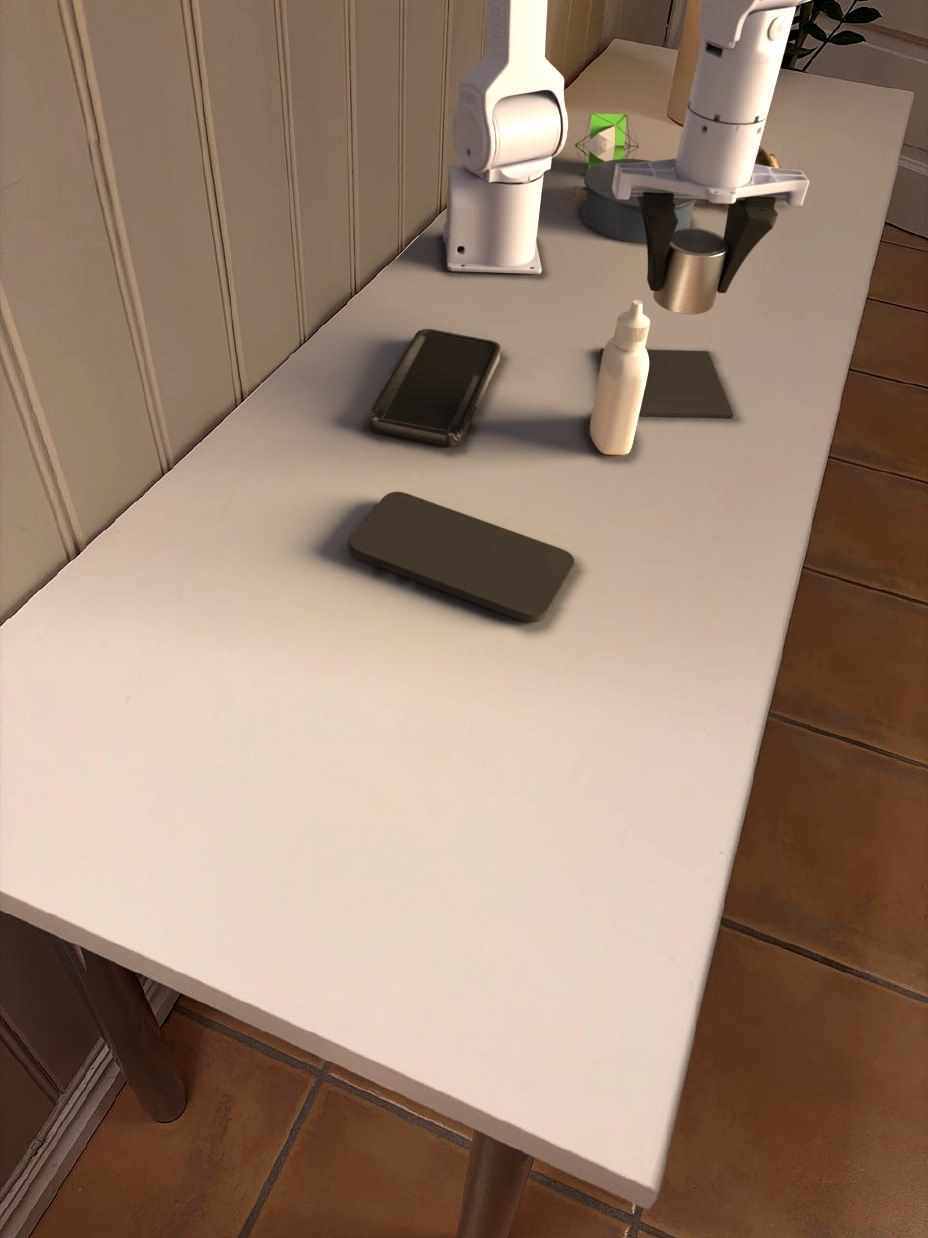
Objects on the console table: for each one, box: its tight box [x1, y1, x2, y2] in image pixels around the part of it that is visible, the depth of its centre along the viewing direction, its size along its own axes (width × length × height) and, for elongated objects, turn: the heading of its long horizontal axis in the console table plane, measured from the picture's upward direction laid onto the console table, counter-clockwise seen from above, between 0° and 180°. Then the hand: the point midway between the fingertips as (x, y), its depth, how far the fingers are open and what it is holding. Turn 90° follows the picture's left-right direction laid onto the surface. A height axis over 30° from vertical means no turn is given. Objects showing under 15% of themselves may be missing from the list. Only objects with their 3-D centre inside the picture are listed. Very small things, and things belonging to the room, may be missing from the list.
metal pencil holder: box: [653, 226, 728, 315], centre depth 80 cm, size 5×5×5 cm
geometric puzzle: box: [573, 112, 641, 171], centre depth 115 cm, size 7×7×8 cm
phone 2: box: [347, 491, 575, 624], centre depth 69 cm, size 7×1×15 cm
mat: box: [600, 347, 734, 419], centre depth 86 cm, size 10×10×1 cm
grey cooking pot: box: [572, 158, 707, 244], centre depth 108 cm, size 15×13×4 cm
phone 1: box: [369, 328, 502, 448], centre depth 83 cm, size 8×1×15 cm
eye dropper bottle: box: [589, 299, 651, 456], centre depth 76 cm, size 4×6×12 cm
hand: (685, 285), depth 81 cm, fingers closed on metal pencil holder, 5 cm apart
